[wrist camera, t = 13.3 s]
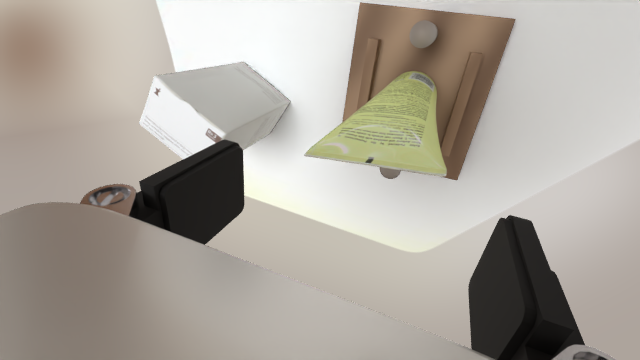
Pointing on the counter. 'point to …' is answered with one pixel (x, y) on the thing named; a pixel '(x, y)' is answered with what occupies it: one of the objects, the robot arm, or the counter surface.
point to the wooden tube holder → (429, 66)
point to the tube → (391, 130)
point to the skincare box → (211, 108)
